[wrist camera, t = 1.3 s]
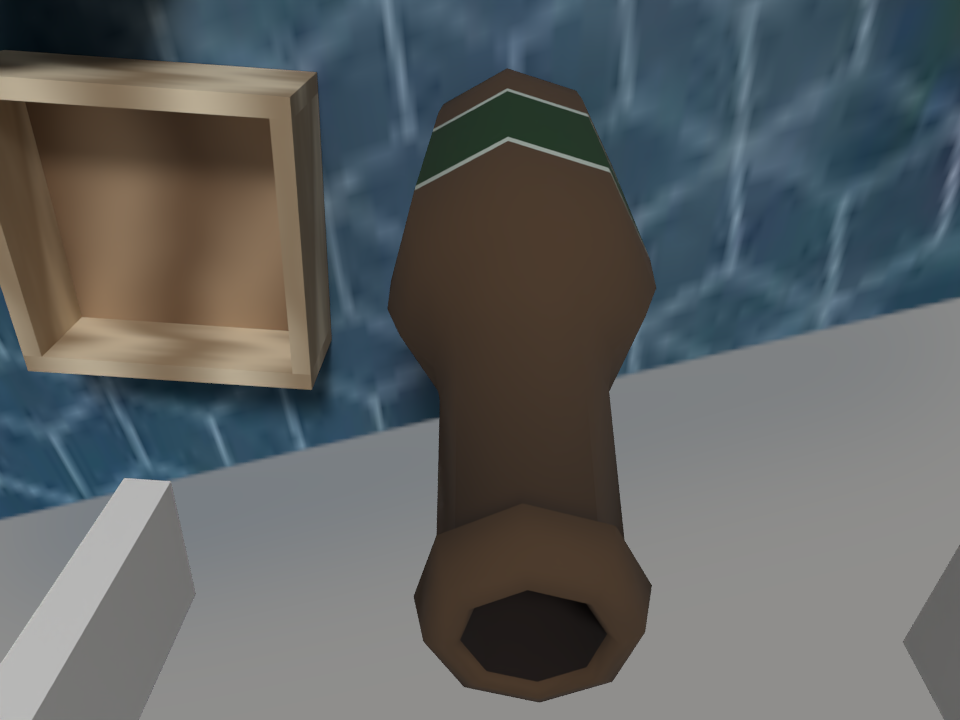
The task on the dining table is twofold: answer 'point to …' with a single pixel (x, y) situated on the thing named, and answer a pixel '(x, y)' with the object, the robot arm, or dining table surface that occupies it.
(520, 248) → the beer bottle
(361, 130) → the dining table surface
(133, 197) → the caddy
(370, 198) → the dining table surface
